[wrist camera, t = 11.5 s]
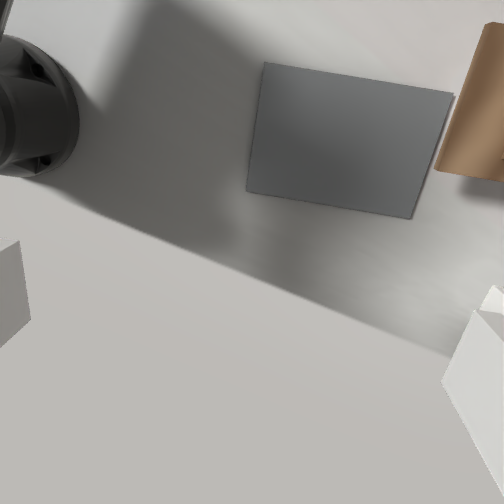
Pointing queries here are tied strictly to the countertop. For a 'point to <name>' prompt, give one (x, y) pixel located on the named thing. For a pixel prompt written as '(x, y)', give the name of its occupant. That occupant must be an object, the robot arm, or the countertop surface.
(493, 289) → the milk
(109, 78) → the countertop surface
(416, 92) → the mat
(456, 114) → the board
